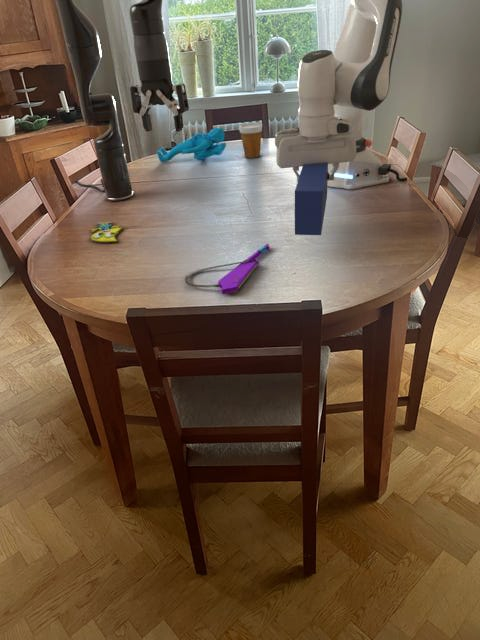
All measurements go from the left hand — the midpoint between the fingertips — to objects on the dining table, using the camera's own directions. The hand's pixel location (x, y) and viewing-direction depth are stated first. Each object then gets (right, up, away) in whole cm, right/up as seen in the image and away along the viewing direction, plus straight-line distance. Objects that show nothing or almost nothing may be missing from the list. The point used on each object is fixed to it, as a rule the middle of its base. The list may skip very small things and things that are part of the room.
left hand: (164, 131), depth 119 cm
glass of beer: (+24, +22, +83) cm, 89 cm away
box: (+37, -20, +2) cm, 42 cm away
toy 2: (-1, +21, +85) cm, 88 cm away
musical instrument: (+16, -35, -4) cm, 39 cm away
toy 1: (-21, -22, +22) cm, 37 cm away
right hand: (+39, -10, +7) cm, 41 cm away
